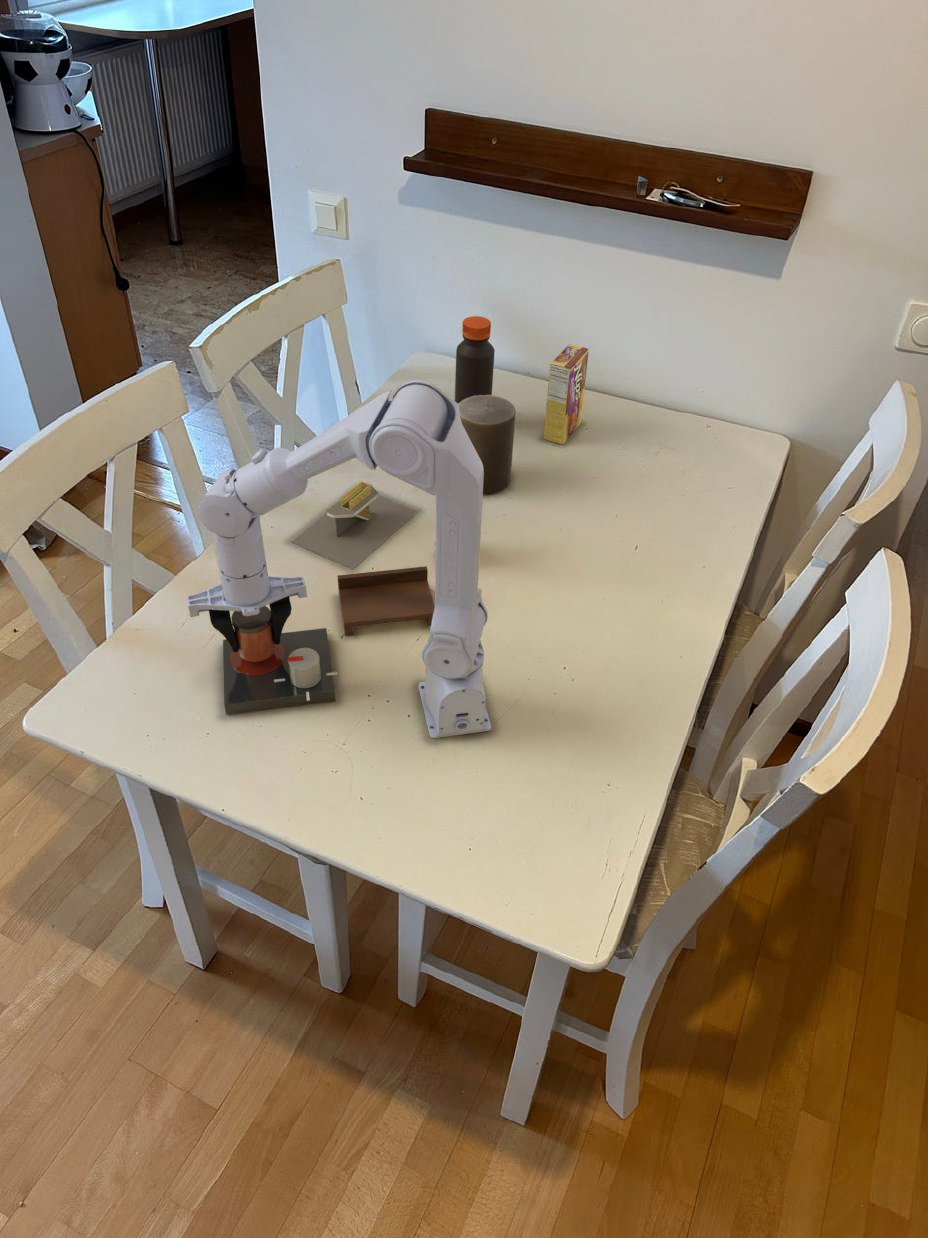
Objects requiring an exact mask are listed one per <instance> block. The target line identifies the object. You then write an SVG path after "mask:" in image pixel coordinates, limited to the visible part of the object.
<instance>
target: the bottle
mask: <svg viewBox="0 0 928 1238" xmlns="http://www.w3.org/2000/svg"><path fill="white" fill-rule="evenodd" d="M461 330H462V331H461V333H462V338H463V340H462V341H461V342H459V344H458V345H457V346H456V350H455V379H454V401H455V402H456V403H457V404H458V403H460V402H461V401H462V400H464V399H466V398H469V397H472V396H478V395H493V383H494V366H495V365H494V364H495V348H494V346H493V344H491V342H490V341H489V340H490V338H491V330H492V322H491V320H490V319H489V318H486V317H485V316H479V315H473V316H472V315H471V316H468V317H466V318H464V319H463V320H462V329H461Z"/></svg>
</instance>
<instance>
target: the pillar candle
mask: <svg viewBox="0 0 928 1238" xmlns="http://www.w3.org/2000/svg"><path fill="white" fill-rule="evenodd" d="M458 408H459V413H460V418H461V423H462V425H463V427H464V429H465V431H466V433H467V435H468V437H469V438H470V440H471V442H472V444H473V446H474V448H475V450H476V452H477V454H478V456H479V458H480V460H481V462H482V464H483V469H484V479H483V495H484V496H487V495H493V494H498V493H501V492H502V491H504V490H506V489H507V488H508V487H509V486H510V484H511V479H512V478H511V477H512V476H511V475H512V467H513V464H512V463H513V454H514V453H513V451H514V440H515V439H514V436H515V424H516V407H515V405H514V404H513V403H512V402H511V401H510V400H508V399H506V398H504V397H501V396H499V395H494V394H492V395H478V396H472V397H469V398H466V399H464V400H462V401H461V402H460V403H458Z"/></svg>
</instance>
